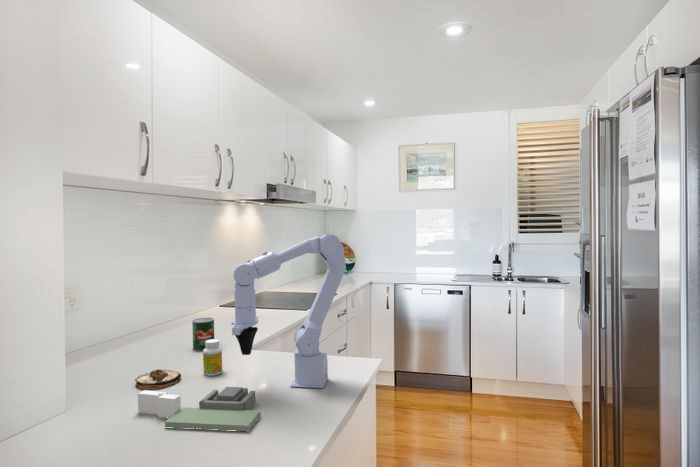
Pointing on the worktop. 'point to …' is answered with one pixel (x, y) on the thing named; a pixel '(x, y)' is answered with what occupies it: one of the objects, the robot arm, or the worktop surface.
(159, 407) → the white stepped block
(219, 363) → the supplement bottle
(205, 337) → the canned tomato
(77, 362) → the worktop surface
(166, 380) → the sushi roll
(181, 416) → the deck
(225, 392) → the dark grey block
